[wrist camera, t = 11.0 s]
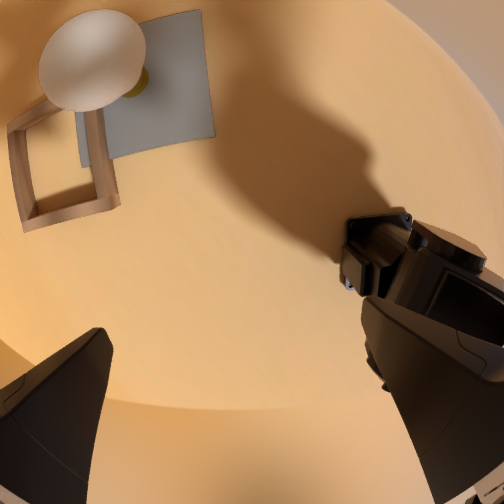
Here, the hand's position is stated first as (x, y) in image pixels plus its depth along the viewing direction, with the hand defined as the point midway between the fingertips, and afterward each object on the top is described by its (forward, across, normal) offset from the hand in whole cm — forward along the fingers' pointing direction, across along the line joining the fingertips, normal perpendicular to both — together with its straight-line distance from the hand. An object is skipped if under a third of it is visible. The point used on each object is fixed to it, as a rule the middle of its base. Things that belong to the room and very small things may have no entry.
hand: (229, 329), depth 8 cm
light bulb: (+13, +6, -12) cm, 18 cm away
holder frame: (+13, +14, -8) cm, 21 cm away
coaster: (+13, +6, -12) cm, 19 cm away
